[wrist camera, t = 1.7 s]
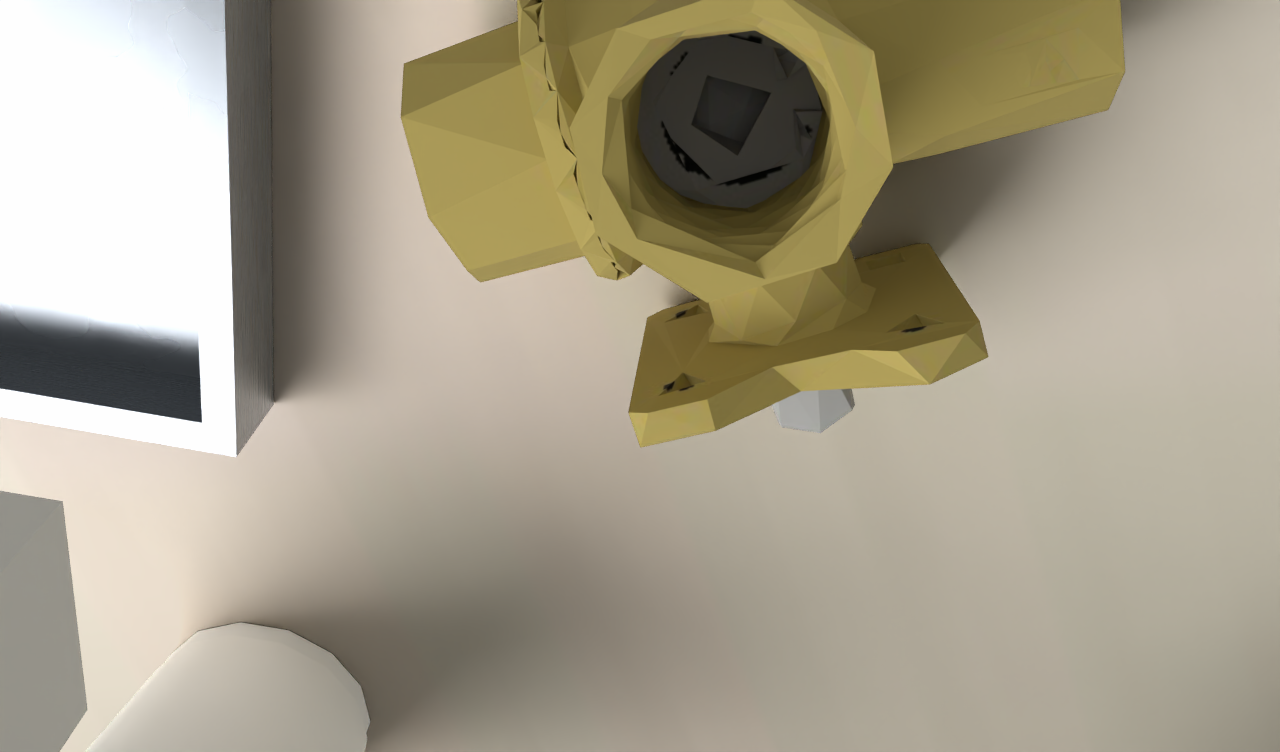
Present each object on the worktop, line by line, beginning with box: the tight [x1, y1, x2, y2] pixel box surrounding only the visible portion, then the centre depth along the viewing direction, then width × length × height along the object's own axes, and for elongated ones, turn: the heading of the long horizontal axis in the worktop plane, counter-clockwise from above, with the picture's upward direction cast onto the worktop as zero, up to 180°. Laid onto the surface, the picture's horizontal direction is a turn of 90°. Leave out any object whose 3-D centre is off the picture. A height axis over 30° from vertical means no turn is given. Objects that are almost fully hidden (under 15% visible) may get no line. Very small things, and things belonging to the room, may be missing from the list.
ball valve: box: [401, 0, 1125, 447], centre depth 22 cm, size 13×10×10 cm
